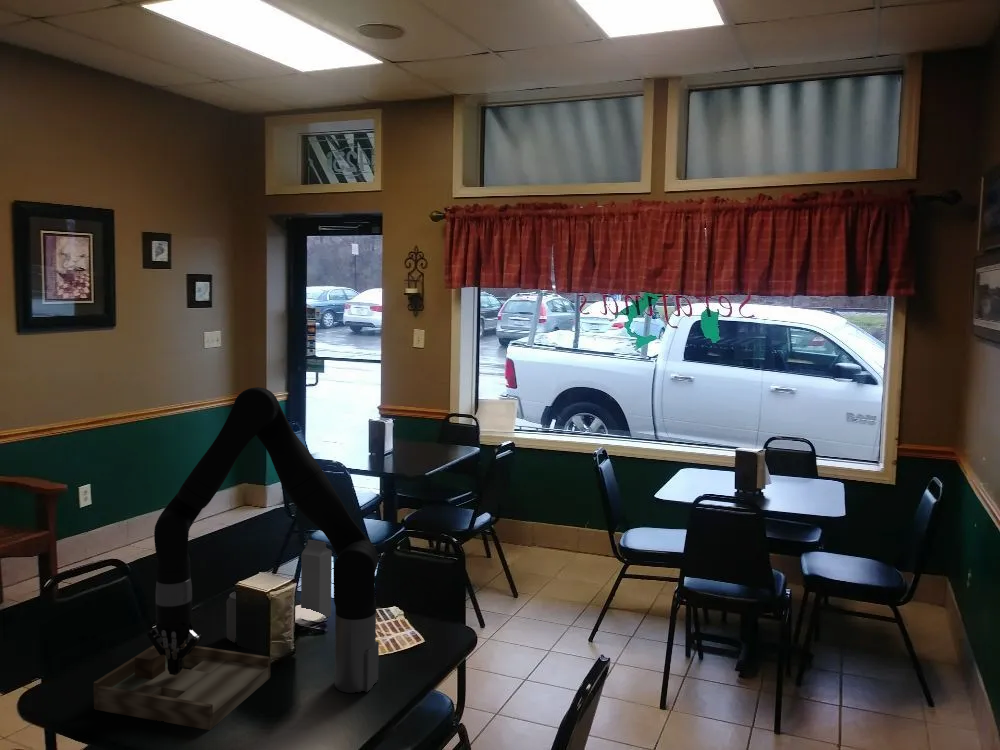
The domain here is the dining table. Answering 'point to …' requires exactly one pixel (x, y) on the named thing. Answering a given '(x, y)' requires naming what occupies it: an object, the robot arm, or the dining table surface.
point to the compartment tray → (184, 688)
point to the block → (149, 664)
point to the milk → (316, 577)
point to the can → (231, 617)
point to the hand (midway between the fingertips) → (175, 673)
